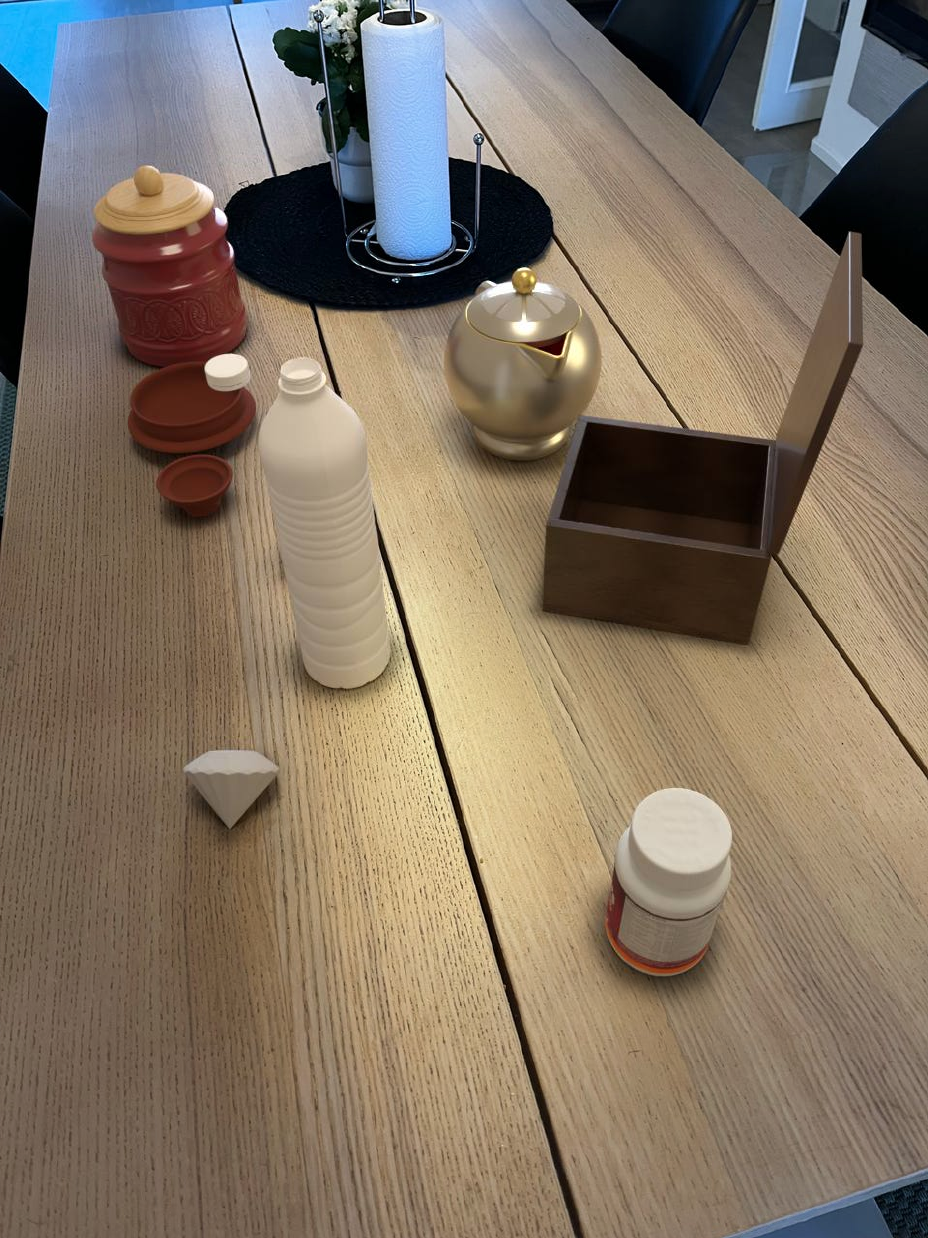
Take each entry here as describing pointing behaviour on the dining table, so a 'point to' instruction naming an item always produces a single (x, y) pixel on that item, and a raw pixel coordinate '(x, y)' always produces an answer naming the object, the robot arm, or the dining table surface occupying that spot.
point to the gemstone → (231, 780)
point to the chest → (661, 528)
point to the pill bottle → (669, 882)
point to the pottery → (189, 431)
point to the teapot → (522, 365)
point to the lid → (817, 390)
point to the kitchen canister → (169, 269)
